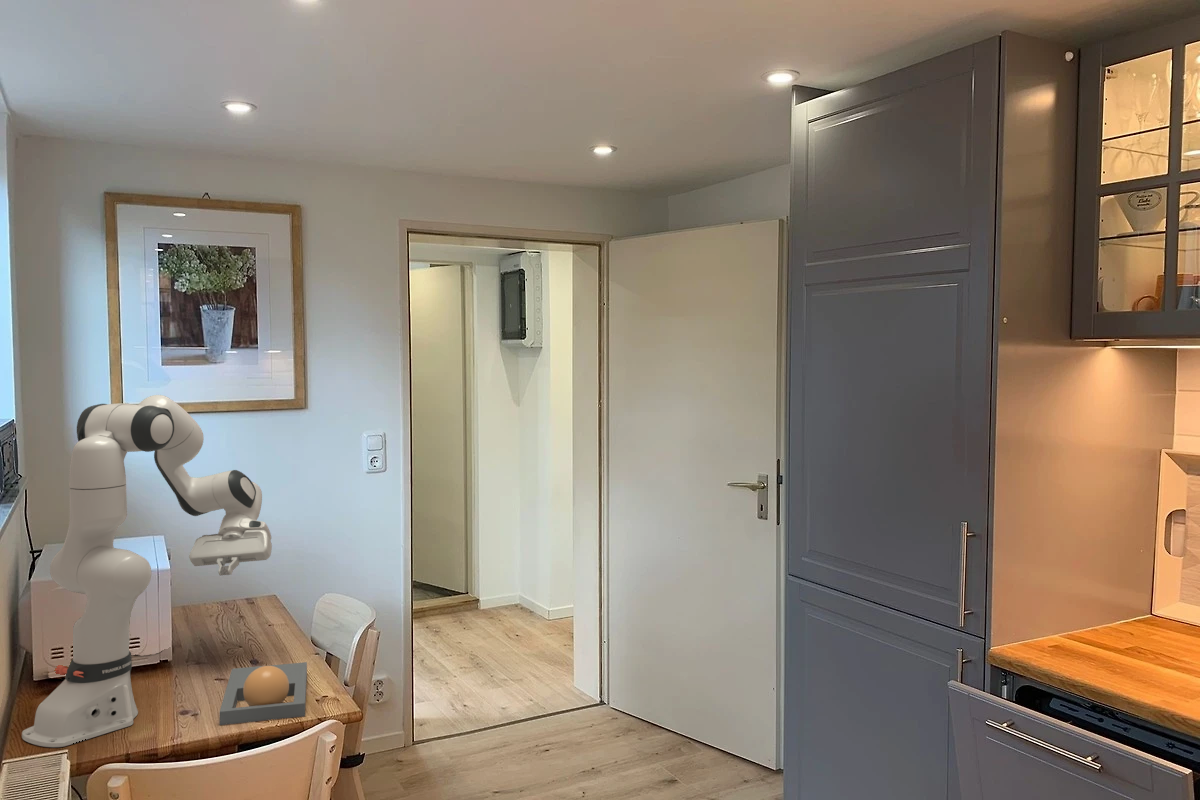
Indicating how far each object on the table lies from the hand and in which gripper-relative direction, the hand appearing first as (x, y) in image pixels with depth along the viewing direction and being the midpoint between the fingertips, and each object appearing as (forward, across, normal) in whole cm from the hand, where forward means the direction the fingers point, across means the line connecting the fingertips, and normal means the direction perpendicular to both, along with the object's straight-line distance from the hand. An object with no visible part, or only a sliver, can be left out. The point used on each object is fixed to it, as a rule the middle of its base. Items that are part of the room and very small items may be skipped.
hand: (224, 573), depth 225 cm
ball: (+33, +16, +3) cm, 37 cm away
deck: (+30, +13, +11) cm, 35 cm away
